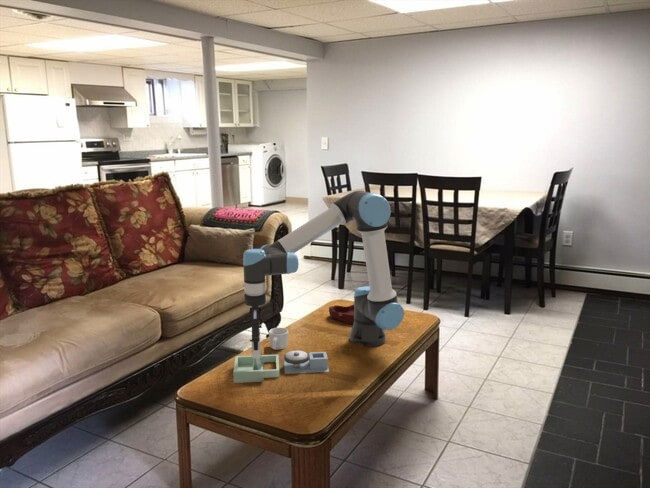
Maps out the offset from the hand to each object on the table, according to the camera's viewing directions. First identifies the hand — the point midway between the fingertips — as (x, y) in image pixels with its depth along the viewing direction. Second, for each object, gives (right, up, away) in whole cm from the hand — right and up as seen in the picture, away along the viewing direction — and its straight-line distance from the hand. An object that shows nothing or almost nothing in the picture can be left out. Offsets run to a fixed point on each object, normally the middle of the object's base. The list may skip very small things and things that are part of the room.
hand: (256, 351), depth 195 cm
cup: (+6, -4, +22) cm, 23 cm away
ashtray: (+36, +3, +59) cm, 69 cm away
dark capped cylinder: (0, -7, +1) cm, 7 cm away
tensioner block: (+18, -8, +4) cm, 20 cm away
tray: (0, -8, +2) cm, 8 cm away
